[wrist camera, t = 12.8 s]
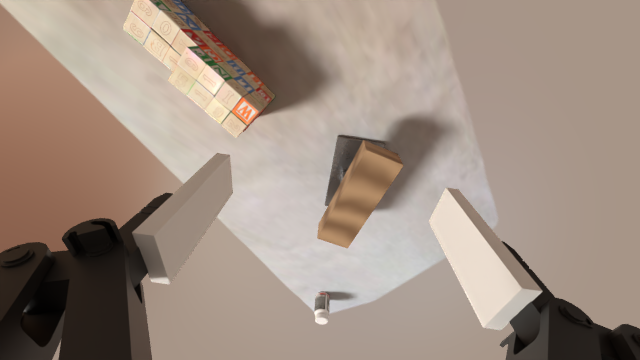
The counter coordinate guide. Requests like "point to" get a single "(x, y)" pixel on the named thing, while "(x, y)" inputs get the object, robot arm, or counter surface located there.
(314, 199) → the counter surface
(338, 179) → the fulcrum
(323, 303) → the pill bottle
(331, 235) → the board
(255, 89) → the stack of blocks
